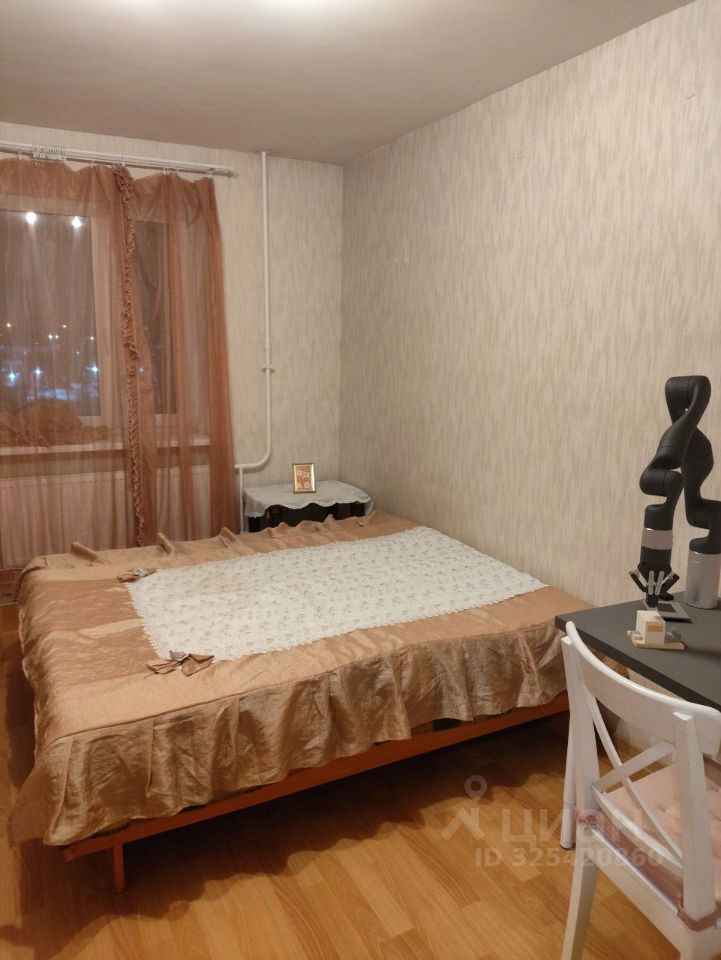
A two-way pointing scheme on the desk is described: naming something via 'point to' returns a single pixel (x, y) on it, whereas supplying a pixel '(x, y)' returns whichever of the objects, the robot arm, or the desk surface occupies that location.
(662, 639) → the white rectangular block
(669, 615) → the electrical outlet
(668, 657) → the desk surface
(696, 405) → the robot arm
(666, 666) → the desk surface
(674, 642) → the rail board
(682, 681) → the desk surface
